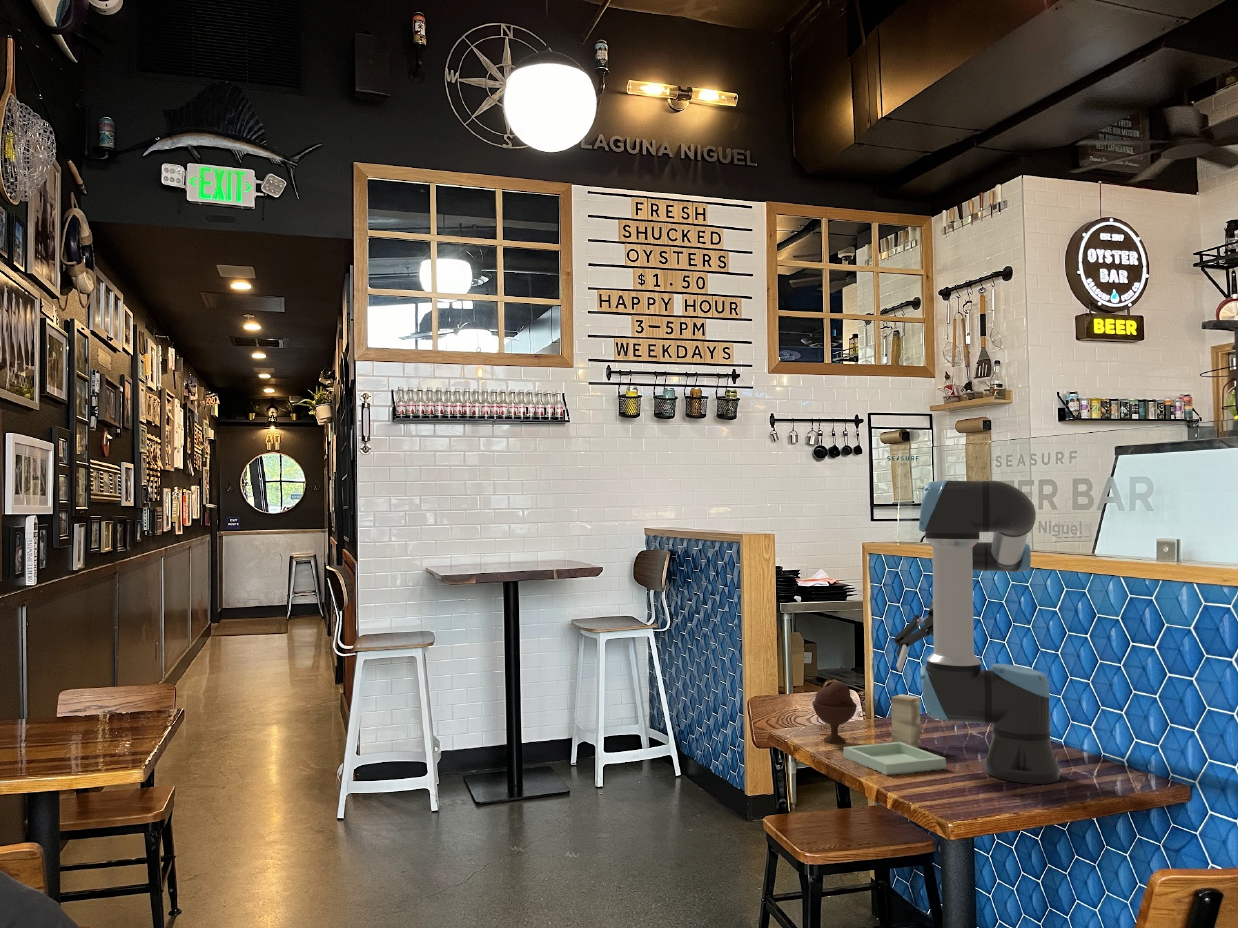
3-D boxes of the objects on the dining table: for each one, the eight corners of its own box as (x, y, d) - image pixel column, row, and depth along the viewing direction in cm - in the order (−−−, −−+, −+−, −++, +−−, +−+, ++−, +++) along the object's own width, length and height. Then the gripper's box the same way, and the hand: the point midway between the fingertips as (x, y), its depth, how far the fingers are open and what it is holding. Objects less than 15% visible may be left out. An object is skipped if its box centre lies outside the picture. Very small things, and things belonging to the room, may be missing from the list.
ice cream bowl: (852, 736, 234) (852, 677, 235) (859, 747, 223) (859, 685, 224) (810, 735, 235) (810, 676, 236) (815, 745, 224) (815, 684, 225)
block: (901, 742, 228) (901, 694, 229) (920, 746, 225) (919, 697, 226) (891, 746, 225) (891, 696, 225) (911, 749, 221) (910, 699, 222)
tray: (945, 769, 204) (945, 758, 205) (886, 775, 199) (886, 764, 199) (899, 751, 219) (899, 741, 219) (843, 757, 214) (843, 746, 214)
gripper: (996, 621, 239) (977, 691, 228) (903, 606, 254) (880, 671, 243) (992, 604, 235) (972, 675, 224) (897, 591, 250) (874, 656, 239)
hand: (924, 673), depth 234 cm, fingers open, 13 cm apart
